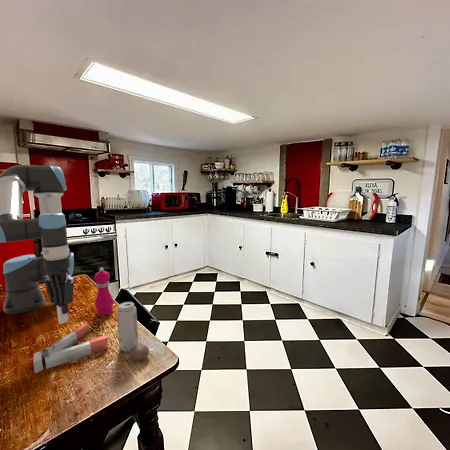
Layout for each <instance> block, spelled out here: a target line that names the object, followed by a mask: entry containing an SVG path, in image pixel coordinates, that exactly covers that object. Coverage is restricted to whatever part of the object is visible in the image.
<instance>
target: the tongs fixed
mask: <svg viewBox="0 0 450 450" xmlns="http://www.w3.org/2000/svg"><path fill="white" fill-rule="evenodd" d="M108 341H109V340H108V336H107V334H105V335H102V336H99V337H95V338H93V339H89V341H86V342H83V343H80V344H77V345H74V346H73V345H72V346H70V347H69V348H67V349H64V350H60V351H57V352H54V353H51V354H49V351H48V349H46V348H44V349H42V350H41V351H37V352H34V353H33V361H32V362H33V370H34V374H36V373H39V372H41V371H44V367H45V368H46V370H48V369H50V368H53V367H56V366H60V365H62V364H65V363H67V362H71V361H74V360H77V359H79V358H83V357H86V356H88V355H92V354H96V353H99V352H101V351H105V350H107V349H109V344H108Z"/></svg>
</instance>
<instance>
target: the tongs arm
mask: <svg viewBox="0 0 450 450" xmlns="http://www.w3.org/2000/svg"><path fill="white" fill-rule="evenodd" d="M88 335H90V326H89V324H88V323H82V324H81V325H79V326H77V327H76V328H74V329H72V331H71V332H69V334H67V335H65V336H63V337H62V338H59V340H57V341H56V342H53V343H52V344H51V345H49V346H47V347H45V349H48V351H49V354H51V353H54V352H57V351H60V350H64V349H67V348H70V347H73V345H74V344H76V343H78V342H80V341H81V340H83V339H84V338H85V337H87V336H88Z"/></svg>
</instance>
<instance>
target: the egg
mask: <svg viewBox="0 0 450 450" xmlns="http://www.w3.org/2000/svg"><path fill="white" fill-rule="evenodd" d="M149 353H150V350H149V347H148V346H147V345H145V344H138V345H136V346H134V347H133V348H132V349H131V350H130V351H128V357H129V359H130V360H131V361H132V362H141V361H143V360H145V359H146V358H147V357H148V356H149Z"/></svg>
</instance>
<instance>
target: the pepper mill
mask: <svg viewBox="0 0 450 450" xmlns="http://www.w3.org/2000/svg"><path fill="white" fill-rule="evenodd" d="M93 277H94V281H95V283H96V284H95V285H96V288H97V295H96V298H95V301H94V305H95V308H97V309H96V314H97V315H98V316H106V315H109V314H111V313H113V311H114V308H113V305H114V298H113V296H112V294H111V292H110V290H109V285H110V281H109V280H110V278H111V275H110V273H109V271H106V270H105V269H104V267H100V268H99V270H98V272H96V273H95V275H94V276H93Z"/></svg>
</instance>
